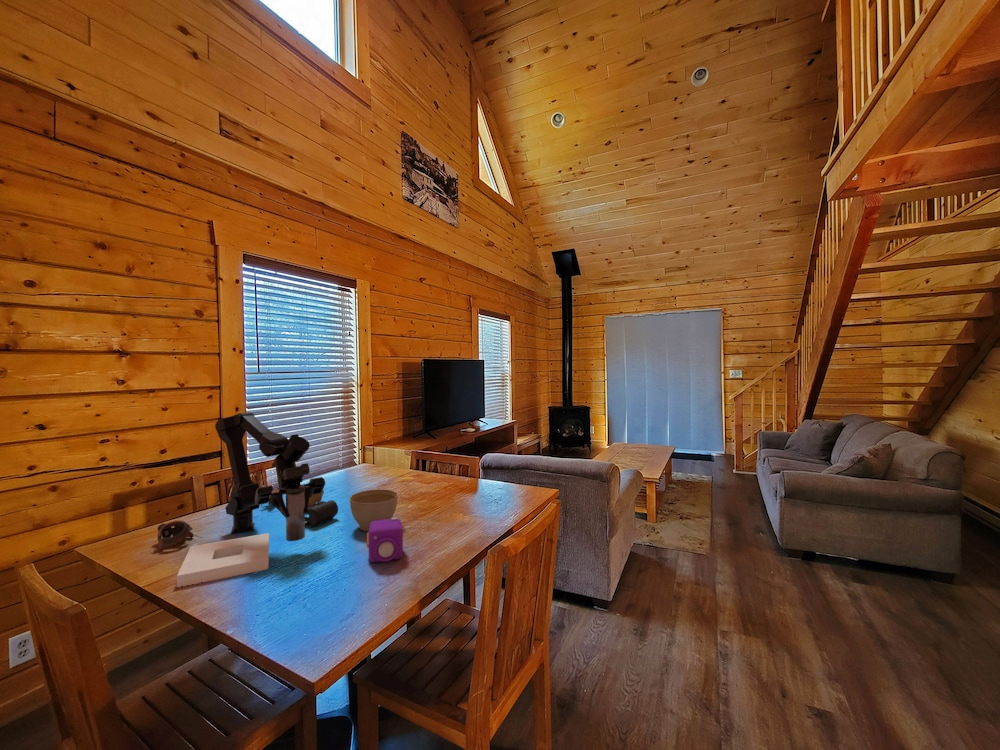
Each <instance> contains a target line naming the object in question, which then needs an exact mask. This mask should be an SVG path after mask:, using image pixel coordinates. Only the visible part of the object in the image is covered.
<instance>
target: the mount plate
mask: <svg viewBox="0 0 1000 750" xmlns="http://www.w3.org/2000/svg"><path fill="white" fill-rule="evenodd" d="M269 558H270V533H269V532H268V533H267V532H266V533H261V534H256V535H249V536H243V537H237V538H233V539H226V540H219V541H215V542H214V541H213V542H209V543H202V544H196V545H191V546H190V547H189V550H188V551H187V554H186V556H185V558H184V559H183V562H182V564H181V566H180V569H179V571H178V572H177V574H176V588H177V587H178V588H182V587H181V586H183V587H187V585H188V586H192V584H193V585H196V584H197V585H198V584H202V583H201V582H203V583H206V582H211V581H216V580H221V579H226V578H231V577H235V576H241V575H246V574H249V573H251V574H252V573H254V572H255V573H256V572H259V571H260V572H261V571H265V570H269V564H270V563H269V561H270V559H269Z"/></svg>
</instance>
